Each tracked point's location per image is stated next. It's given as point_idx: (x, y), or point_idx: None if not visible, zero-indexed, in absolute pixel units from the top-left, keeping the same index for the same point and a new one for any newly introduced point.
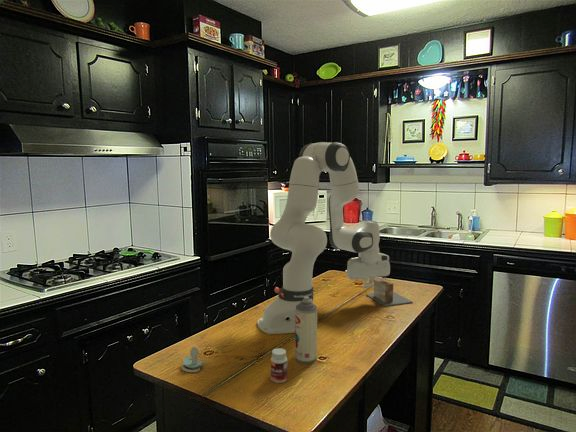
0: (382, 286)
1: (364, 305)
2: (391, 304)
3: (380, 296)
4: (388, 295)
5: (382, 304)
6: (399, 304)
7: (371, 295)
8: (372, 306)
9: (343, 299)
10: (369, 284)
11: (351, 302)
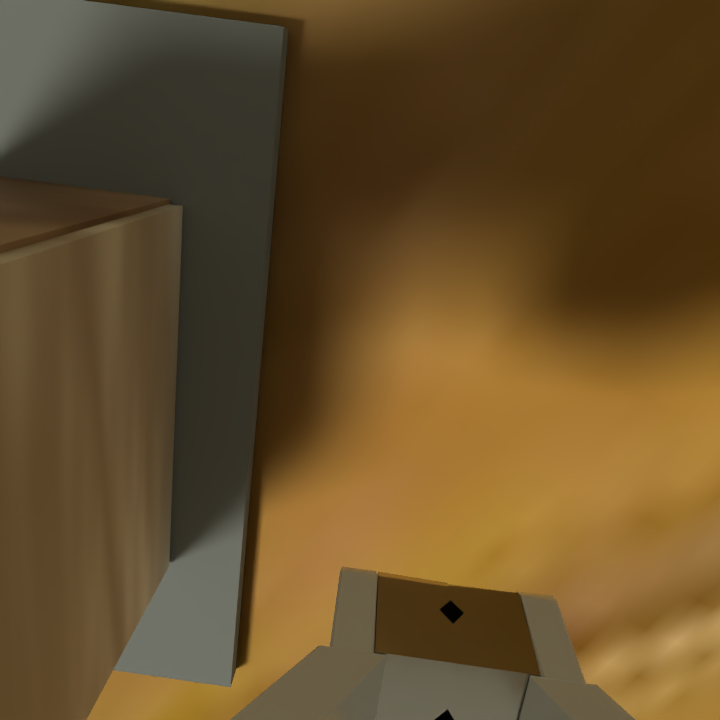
0: (14, 404)
1: (612, 302)
2: (122, 11)
3: (152, 372)
4: (15, 200)
5: (276, 149)
6: None
7: (182, 605)
8: (515, 180)
9: (701, 696)
10: (439, 642)
11: (699, 533)
